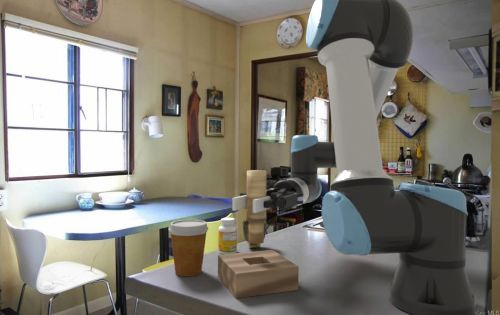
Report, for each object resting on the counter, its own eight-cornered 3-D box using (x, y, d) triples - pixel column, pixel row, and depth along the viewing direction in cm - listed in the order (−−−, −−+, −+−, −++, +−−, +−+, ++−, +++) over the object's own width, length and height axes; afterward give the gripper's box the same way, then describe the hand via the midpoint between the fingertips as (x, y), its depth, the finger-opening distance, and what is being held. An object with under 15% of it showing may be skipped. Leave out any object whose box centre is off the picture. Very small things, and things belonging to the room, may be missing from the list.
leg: (269, 243, 84) (270, 171, 83) (249, 245, 82) (250, 171, 82) (261, 238, 88) (262, 170, 88) (243, 240, 87) (243, 170, 86)
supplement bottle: (219, 249, 113) (219, 216, 113) (237, 249, 113) (237, 217, 112) (217, 254, 108) (217, 220, 107) (236, 254, 107) (236, 220, 107)
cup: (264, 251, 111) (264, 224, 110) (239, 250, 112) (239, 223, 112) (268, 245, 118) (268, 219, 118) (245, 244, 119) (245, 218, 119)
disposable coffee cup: (204, 264, 98) (204, 218, 98) (211, 276, 89) (211, 225, 89) (166, 268, 95) (166, 220, 95) (170, 280, 86) (170, 228, 86)
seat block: (298, 289, 81) (298, 266, 81) (235, 298, 76) (235, 273, 76) (272, 269, 94) (272, 249, 94) (217, 276, 90) (217, 254, 89)
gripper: (321, 210, 96) (280, 227, 76) (260, 204, 105) (210, 218, 85) (321, 181, 96) (281, 190, 76) (260, 177, 105) (210, 185, 85)
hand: (244, 205), depth 80 cm, fingers closed on leg, 4 cm apart
